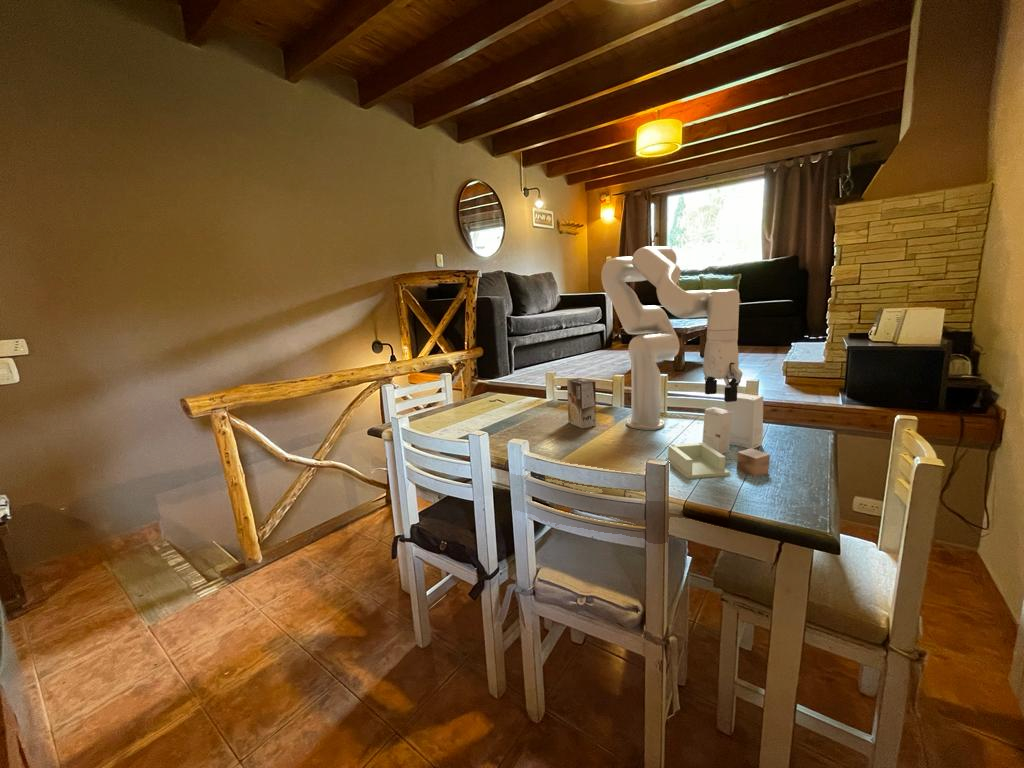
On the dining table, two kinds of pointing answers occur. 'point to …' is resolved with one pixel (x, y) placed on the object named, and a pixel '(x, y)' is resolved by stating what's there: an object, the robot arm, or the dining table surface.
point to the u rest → (697, 460)
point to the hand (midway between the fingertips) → (720, 397)
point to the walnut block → (753, 462)
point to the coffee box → (581, 402)
